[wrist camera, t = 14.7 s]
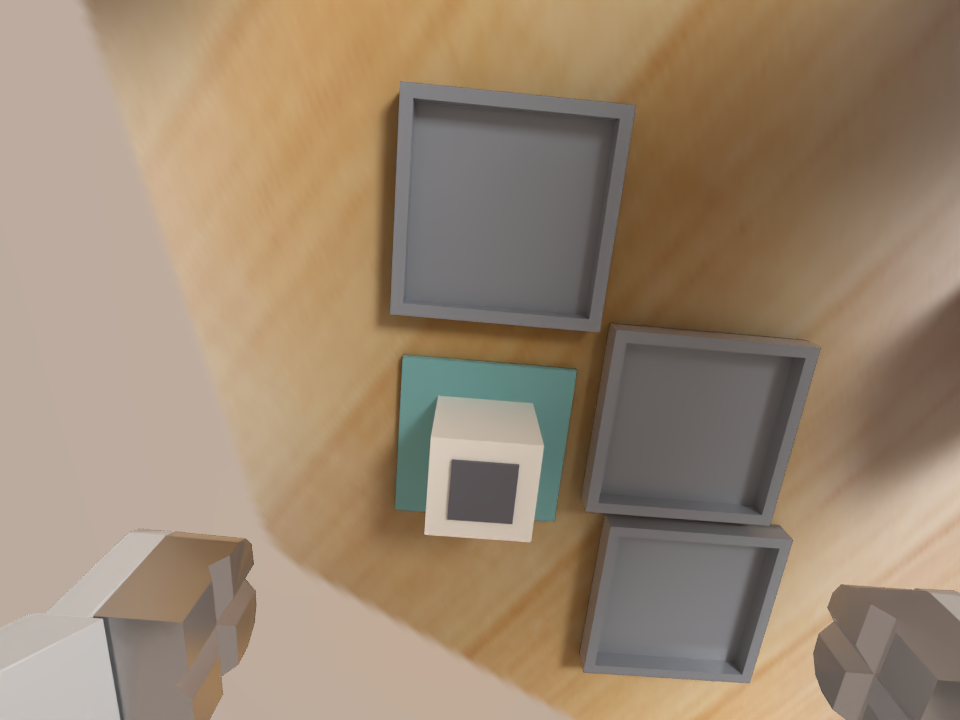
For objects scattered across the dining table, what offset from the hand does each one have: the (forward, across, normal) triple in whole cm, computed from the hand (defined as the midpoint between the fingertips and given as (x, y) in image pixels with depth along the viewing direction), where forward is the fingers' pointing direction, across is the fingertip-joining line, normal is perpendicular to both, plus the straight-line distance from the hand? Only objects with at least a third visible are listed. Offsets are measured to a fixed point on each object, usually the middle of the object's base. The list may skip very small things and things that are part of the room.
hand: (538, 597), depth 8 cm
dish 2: (+22, -10, +6) cm, 25 cm away
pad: (+21, +1, +8) cm, 23 cm away
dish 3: (+21, -12, +17) cm, 30 cm away
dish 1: (+21, 0, -4) cm, 22 cm away
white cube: (+21, +1, +8) cm, 22 cm away
